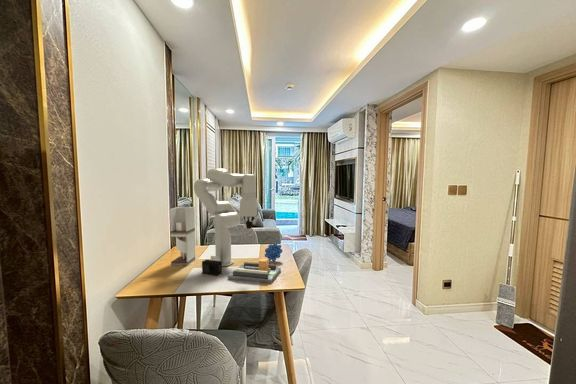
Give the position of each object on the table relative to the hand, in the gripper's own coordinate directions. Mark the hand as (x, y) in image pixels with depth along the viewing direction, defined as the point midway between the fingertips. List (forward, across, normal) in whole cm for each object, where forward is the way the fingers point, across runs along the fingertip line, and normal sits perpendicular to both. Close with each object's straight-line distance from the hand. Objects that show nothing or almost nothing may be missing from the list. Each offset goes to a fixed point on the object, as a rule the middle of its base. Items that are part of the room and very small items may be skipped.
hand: (249, 228), depth 145 cm
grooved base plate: (+23, +5, -4) cm, 24 cm away
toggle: (+23, +10, -4) cm, 25 cm away
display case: (+25, -48, +6) cm, 55 cm away
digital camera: (+25, -20, -8) cm, 33 cm away
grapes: (+25, +7, +23) cm, 35 cm away
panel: (+25, +5, -4) cm, 26 cm away
